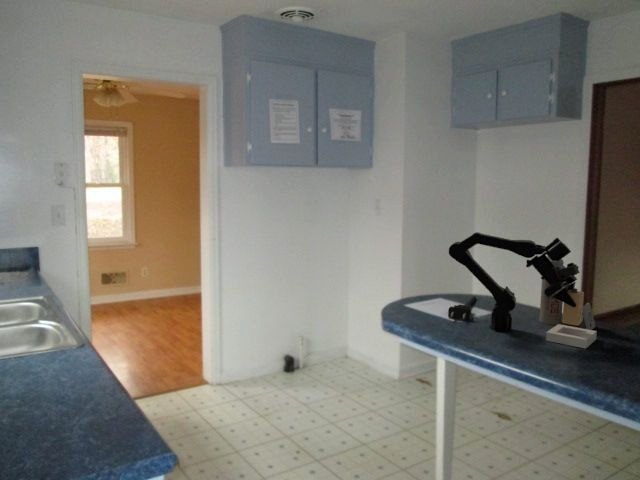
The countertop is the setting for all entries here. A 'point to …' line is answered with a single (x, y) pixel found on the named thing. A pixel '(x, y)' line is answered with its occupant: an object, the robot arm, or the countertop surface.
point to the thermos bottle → (550, 302)
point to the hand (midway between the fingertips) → (577, 305)
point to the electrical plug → (461, 310)
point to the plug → (574, 308)
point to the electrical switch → (587, 318)
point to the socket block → (571, 336)
